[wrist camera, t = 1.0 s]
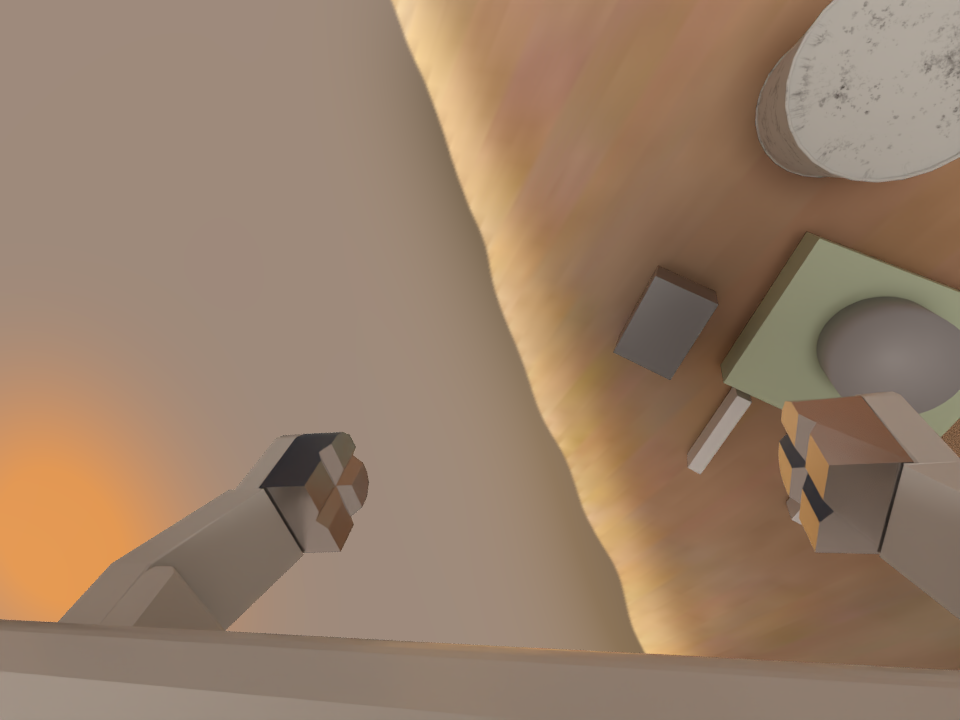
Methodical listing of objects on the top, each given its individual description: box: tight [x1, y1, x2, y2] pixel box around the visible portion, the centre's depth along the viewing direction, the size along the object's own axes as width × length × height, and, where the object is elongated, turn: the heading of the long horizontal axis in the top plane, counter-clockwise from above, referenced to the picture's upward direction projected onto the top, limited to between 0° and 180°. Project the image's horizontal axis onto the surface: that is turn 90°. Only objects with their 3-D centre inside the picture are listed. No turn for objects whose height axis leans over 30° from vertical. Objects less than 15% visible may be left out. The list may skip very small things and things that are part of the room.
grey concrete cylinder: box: [755, 0, 960, 182], centre depth 28 cm, size 10×10×12 cm
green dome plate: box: [687, 232, 960, 525], centre depth 37 cm, size 14×21×8 cm, turn 161°
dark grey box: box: [614, 266, 719, 380], centre depth 41 cm, size 5×7×4 cm
